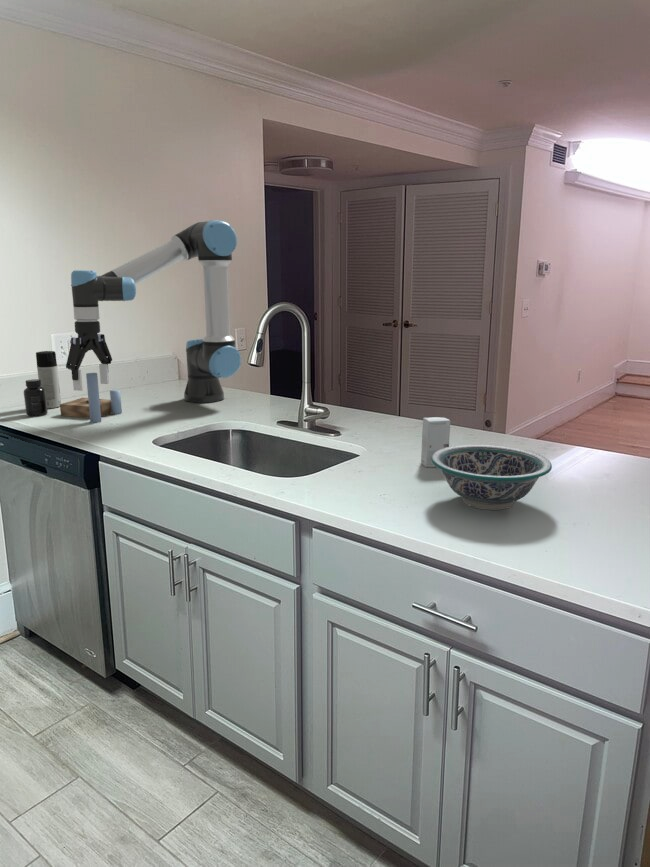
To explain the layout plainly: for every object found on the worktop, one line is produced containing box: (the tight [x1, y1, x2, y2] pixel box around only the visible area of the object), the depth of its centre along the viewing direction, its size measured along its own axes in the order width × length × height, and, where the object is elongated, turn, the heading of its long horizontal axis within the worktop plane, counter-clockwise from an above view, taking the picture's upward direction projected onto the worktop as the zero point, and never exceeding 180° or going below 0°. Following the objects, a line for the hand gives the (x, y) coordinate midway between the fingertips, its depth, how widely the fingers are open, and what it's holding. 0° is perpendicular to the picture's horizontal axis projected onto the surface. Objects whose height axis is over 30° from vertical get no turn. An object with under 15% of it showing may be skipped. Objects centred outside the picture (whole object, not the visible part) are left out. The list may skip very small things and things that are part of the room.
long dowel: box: [85, 372, 102, 424], centre depth 212 cm, size 3×3×16 cm
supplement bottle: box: [23, 378, 49, 417], centre depth 223 cm, size 7×7×12 cm
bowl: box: [431, 443, 553, 511], centre depth 141 cm, size 25×25×10 cm
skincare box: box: [420, 416, 451, 468], centre depth 167 cm, size 6×4×12 cm
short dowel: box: [109, 389, 123, 415], centre depth 225 cm, size 3×3×8 cm
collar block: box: [59, 397, 112, 419], centre depth 226 cm, size 14×12×4 cm
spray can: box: [35, 350, 62, 409], centre depth 234 cm, size 7×7×20 cm
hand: (91, 387), depth 211 cm, fingers open, 13 cm apart
